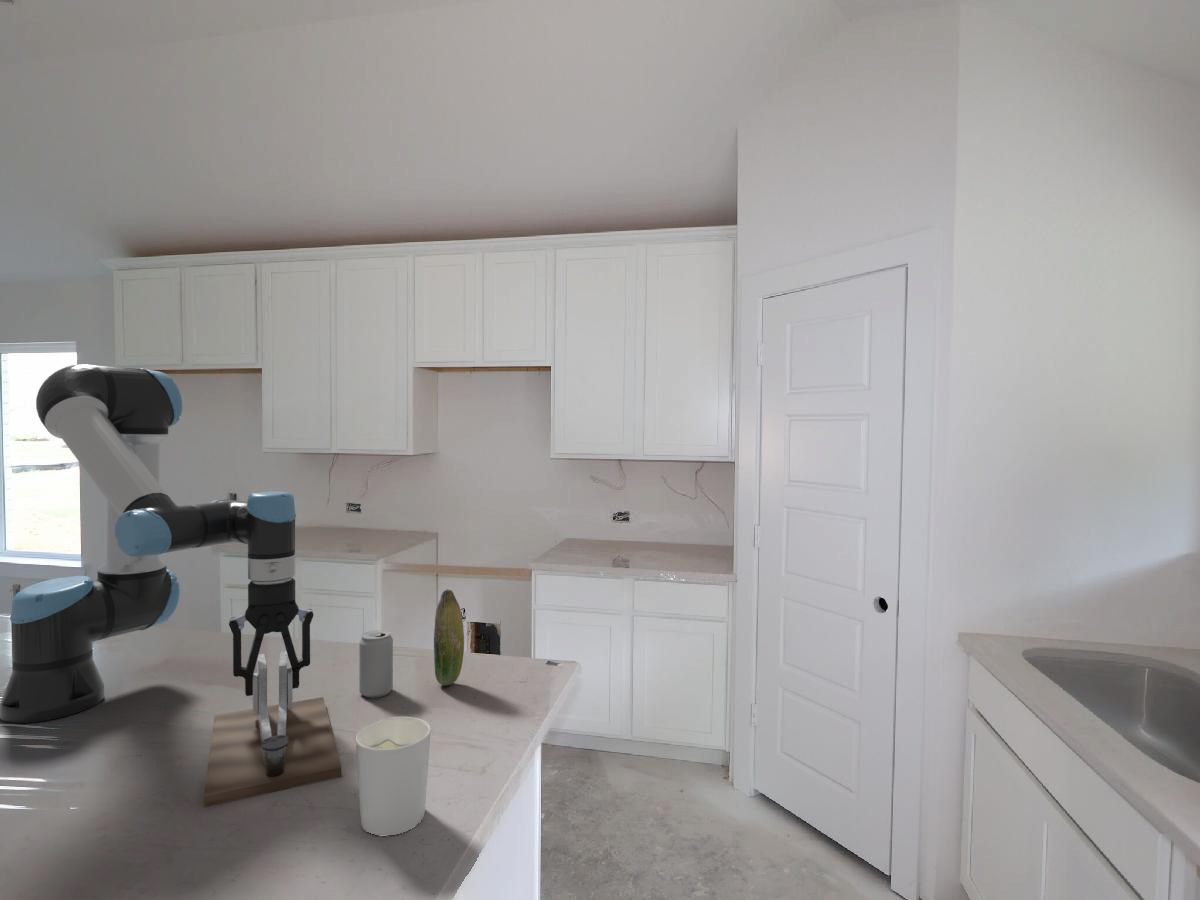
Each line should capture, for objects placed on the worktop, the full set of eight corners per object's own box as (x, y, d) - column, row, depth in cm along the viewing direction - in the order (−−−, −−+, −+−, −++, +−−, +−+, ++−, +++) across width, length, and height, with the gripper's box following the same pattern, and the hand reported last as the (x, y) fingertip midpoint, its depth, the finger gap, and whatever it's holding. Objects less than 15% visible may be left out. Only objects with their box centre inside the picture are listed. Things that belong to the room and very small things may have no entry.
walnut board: (214, 723, 117) (214, 715, 117) (323, 704, 125) (323, 697, 125) (204, 807, 91) (203, 796, 91) (341, 776, 100) (341, 766, 100)
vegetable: (467, 681, 138) (468, 587, 137) (458, 692, 132) (459, 594, 131) (439, 679, 139) (440, 586, 138) (429, 691, 132) (430, 593, 132)
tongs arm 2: (285, 762, 100) (285, 697, 100) (276, 763, 99) (276, 699, 99) (287, 704, 121) (287, 650, 120) (279, 705, 120) (279, 651, 120)
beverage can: (382, 700, 127) (382, 640, 127) (352, 697, 129) (352, 637, 128) (398, 688, 134) (399, 630, 133) (370, 685, 135) (370, 628, 135)
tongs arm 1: (273, 764, 99) (273, 699, 99) (264, 766, 99) (264, 701, 98) (264, 707, 119) (264, 653, 119) (256, 709, 118) (256, 654, 118)
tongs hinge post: (289, 775, 97) (289, 742, 97) (261, 781, 95) (261, 748, 95) (287, 764, 100) (287, 732, 100) (261, 770, 98) (261, 737, 98)
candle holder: (366, 799, 94) (366, 717, 93) (435, 797, 94) (436, 715, 94) (345, 842, 84) (345, 750, 84) (423, 839, 85) (423, 748, 84)
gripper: (212, 589, 108) (213, 728, 109) (328, 578, 116) (328, 707, 117) (214, 580, 114) (215, 711, 115) (324, 570, 123) (324, 692, 124)
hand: (272, 709), depth 116 cm, fingers open, 5 cm apart
